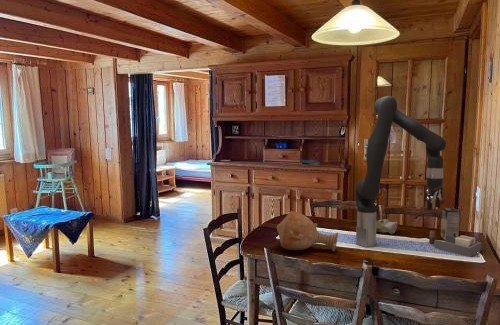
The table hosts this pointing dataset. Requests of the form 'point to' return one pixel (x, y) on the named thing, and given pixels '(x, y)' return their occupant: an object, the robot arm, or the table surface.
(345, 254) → the table surface
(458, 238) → the wooden mallet
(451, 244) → the gray tray
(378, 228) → the ceramic sculpture
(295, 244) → the jug
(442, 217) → the coffee box
